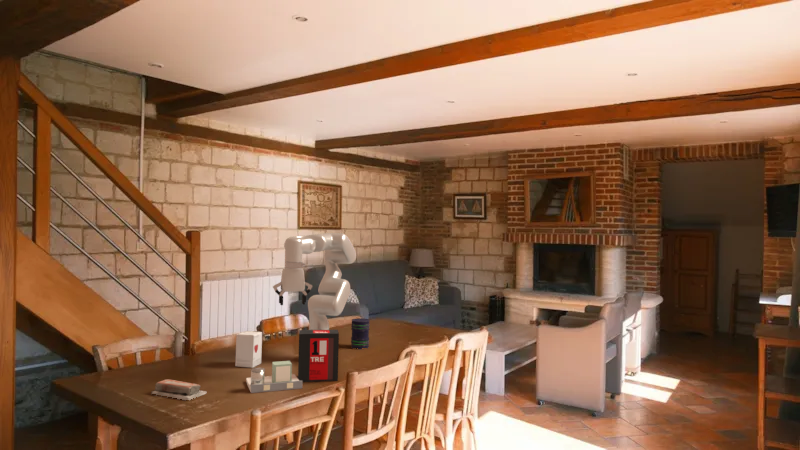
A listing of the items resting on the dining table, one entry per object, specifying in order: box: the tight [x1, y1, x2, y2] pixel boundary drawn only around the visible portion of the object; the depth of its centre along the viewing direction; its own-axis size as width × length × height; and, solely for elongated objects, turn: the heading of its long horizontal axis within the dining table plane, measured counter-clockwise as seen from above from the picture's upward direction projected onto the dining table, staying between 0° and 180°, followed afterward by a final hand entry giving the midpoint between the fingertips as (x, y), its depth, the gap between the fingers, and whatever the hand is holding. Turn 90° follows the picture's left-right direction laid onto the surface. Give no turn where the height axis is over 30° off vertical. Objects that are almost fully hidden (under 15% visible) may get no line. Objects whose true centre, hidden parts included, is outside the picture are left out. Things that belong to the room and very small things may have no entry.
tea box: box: [271, 360, 293, 383], centre depth 215 cm, size 7×6×8 cm
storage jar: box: [350, 317, 370, 350], centre depth 290 cm, size 10×10×15 cm
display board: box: [245, 373, 304, 394], centre depth 217 cm, size 20×17×3 cm
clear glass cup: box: [250, 367, 266, 385], centre depth 210 cm, size 5×5×6 cm
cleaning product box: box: [297, 329, 340, 383], centre depth 227 cm, size 16×9×20 cm, turn 100°
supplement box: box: [234, 330, 263, 369], centre depth 247 cm, size 9×9×15 cm
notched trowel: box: [151, 378, 207, 401], centre depth 202 cm, size 18×5×10 cm
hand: (292, 304), depth 236 cm, fingers open, 9 cm apart
